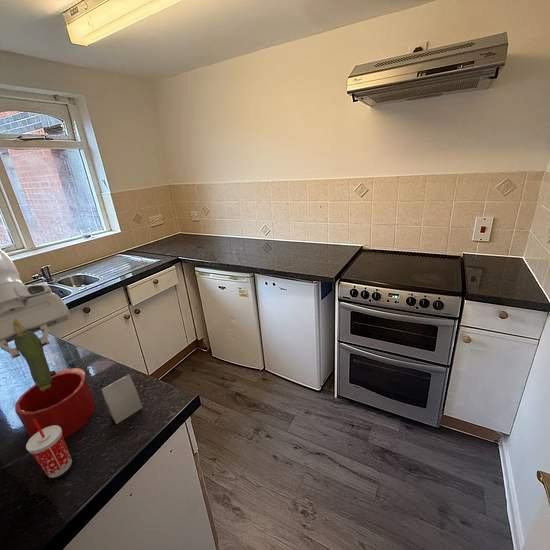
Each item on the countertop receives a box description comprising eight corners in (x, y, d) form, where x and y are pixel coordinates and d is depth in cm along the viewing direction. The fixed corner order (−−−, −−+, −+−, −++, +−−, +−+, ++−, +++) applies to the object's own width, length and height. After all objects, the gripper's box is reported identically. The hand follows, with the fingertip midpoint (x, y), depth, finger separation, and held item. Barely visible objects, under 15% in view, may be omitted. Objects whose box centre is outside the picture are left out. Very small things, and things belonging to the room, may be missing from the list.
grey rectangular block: (142, 407, 79) (132, 377, 76) (116, 424, 75) (103, 393, 71) (137, 401, 82) (126, 371, 78) (111, 416, 78) (99, 386, 74)
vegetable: (41, 385, 76) (6, 316, 69) (60, 378, 78) (29, 310, 70) (37, 396, 72) (0, 324, 65) (58, 388, 74) (24, 318, 67)
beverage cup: (71, 449, 69) (48, 403, 64) (79, 464, 65) (55, 416, 60) (40, 470, 65) (12, 422, 60) (47, 487, 61) (18, 438, 56)
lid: (27, 417, 81) (18, 401, 79) (24, 389, 92) (17, 374, 90) (90, 386, 90) (84, 371, 88) (81, 364, 101) (75, 350, 99)
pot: (33, 455, 69) (15, 425, 66) (29, 420, 80) (14, 392, 76) (101, 418, 77) (89, 389, 74) (90, 390, 88) (79, 364, 85)
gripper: (-56, 315, 64) (-33, 370, 61) (54, 282, 77) (78, 325, 74) (-45, 327, 69) (-23, 378, 66) (57, 293, 82) (79, 335, 79)
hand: (31, 350), depth 70 cm, fingers closed on vegetable, 4 cm apart
